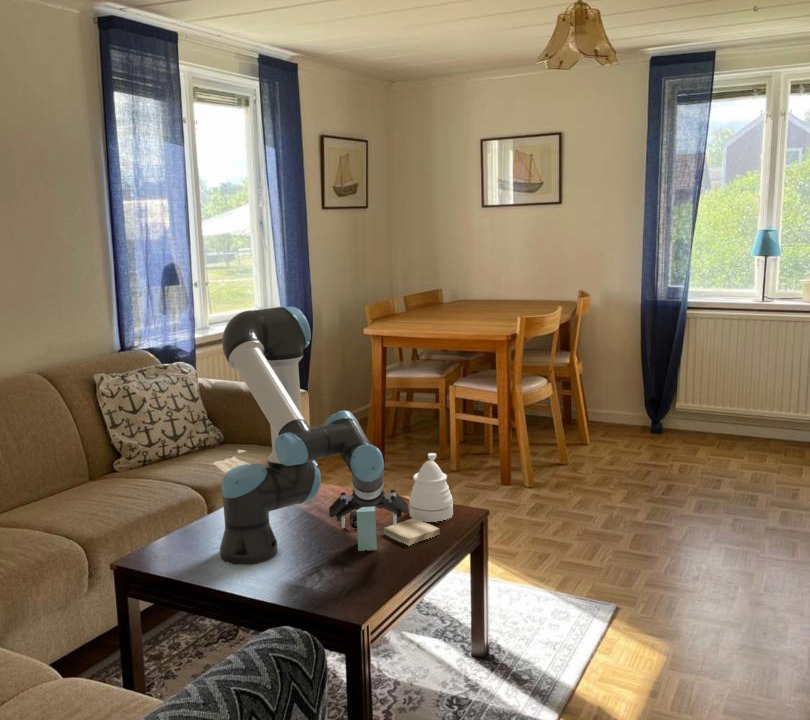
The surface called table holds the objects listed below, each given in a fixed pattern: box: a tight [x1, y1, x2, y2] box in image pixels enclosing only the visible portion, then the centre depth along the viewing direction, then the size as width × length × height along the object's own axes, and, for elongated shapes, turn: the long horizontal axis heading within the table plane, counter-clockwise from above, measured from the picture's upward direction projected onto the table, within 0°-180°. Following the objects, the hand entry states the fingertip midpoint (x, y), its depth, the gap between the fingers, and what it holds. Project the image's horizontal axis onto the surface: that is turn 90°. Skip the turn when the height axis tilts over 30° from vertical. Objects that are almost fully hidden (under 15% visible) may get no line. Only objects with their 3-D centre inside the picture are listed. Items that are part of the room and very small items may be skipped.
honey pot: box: [408, 452, 454, 523], centre depth 248 cm, size 13×13×18 cm
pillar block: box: [356, 507, 378, 552], centre depth 227 cm, size 5×5×11 cm
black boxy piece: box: [348, 510, 378, 528], centre depth 242 cm, size 12×7×5 cm, turn 121°
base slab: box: [383, 518, 441, 547], centre depth 234 cm, size 11×11×2 cm
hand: (369, 522), depth 223 cm, fingers open, 13 cm apart
